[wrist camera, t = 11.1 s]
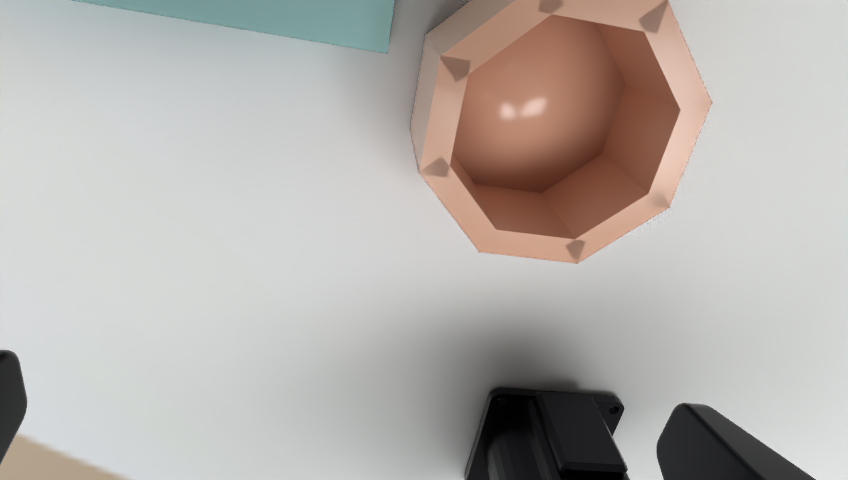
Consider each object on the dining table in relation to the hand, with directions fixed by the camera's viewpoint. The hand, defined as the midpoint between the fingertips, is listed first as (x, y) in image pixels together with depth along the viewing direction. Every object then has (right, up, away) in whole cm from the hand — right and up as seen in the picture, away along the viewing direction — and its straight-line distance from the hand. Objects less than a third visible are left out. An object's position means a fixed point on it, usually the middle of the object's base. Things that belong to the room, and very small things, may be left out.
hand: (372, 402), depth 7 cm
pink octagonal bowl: (+4, +7, +11) cm, 14 cm away
